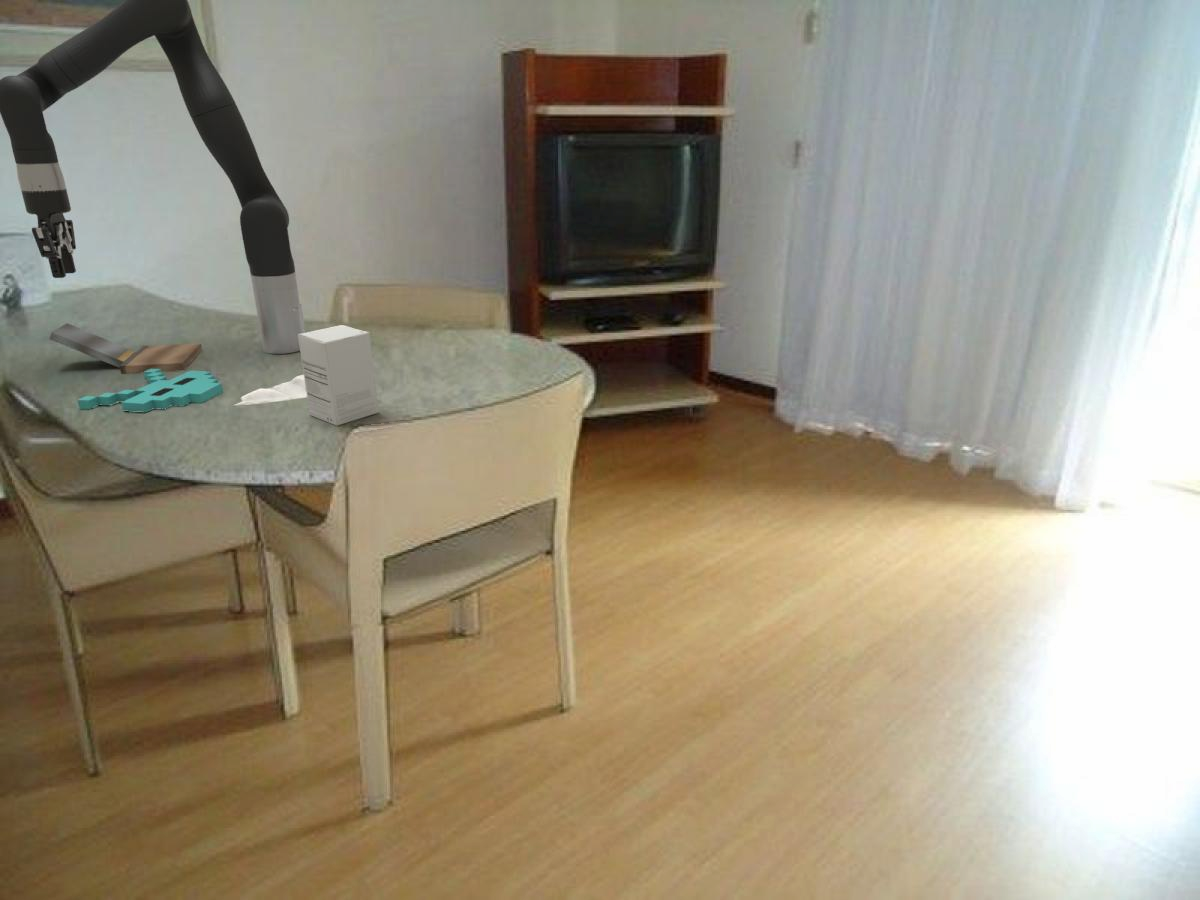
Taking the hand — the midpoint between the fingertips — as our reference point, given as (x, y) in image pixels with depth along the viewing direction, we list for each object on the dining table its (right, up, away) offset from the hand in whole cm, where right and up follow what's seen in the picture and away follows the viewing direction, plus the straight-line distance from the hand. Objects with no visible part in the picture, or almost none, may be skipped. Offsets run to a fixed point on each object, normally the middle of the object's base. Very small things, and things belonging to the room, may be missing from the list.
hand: (64, 274), depth 168 cm
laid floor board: (+15, -17, +10) cm, 25 cm away
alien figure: (+26, -26, -10) cm, 38 cm away
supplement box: (+63, -30, -20) cm, 73 cm away
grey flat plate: (+2, -14, +6) cm, 16 cm away
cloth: (+49, -25, -7) cm, 55 cm away
